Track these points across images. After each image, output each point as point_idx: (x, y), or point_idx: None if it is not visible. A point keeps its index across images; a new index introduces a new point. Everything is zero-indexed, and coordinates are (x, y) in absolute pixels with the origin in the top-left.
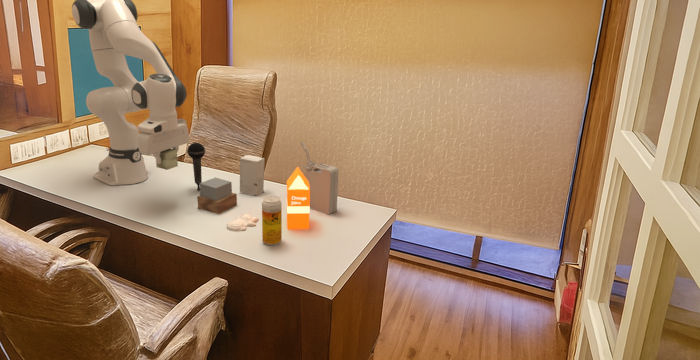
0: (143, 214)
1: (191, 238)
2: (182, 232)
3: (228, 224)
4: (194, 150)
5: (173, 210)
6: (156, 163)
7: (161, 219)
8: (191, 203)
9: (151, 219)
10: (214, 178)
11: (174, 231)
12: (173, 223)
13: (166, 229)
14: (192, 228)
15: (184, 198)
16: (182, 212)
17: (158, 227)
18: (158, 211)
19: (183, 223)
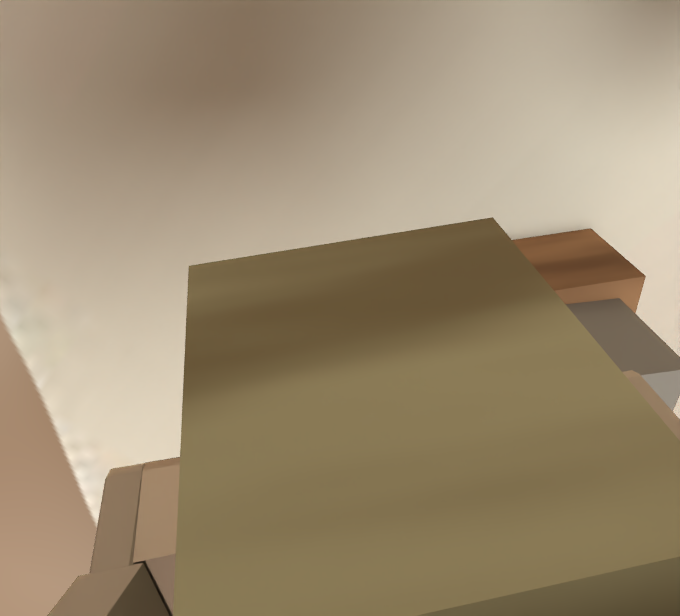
0: (11, 15)
1: (95, 516)
2: (96, 449)
3: None
4: None
5: (263, 154)
6: (189, 322)
7: (92, 226)
8: (449, 147)
9: (25, 170)
10: (663, 381)
11: (65, 417)
12: (123, 333)
13: (37, 371)
14: (171, 444)
15: (509, 2)
16: (283, 235)
17: (5, 318)
18: (160, 71)
19: (173, 370)
